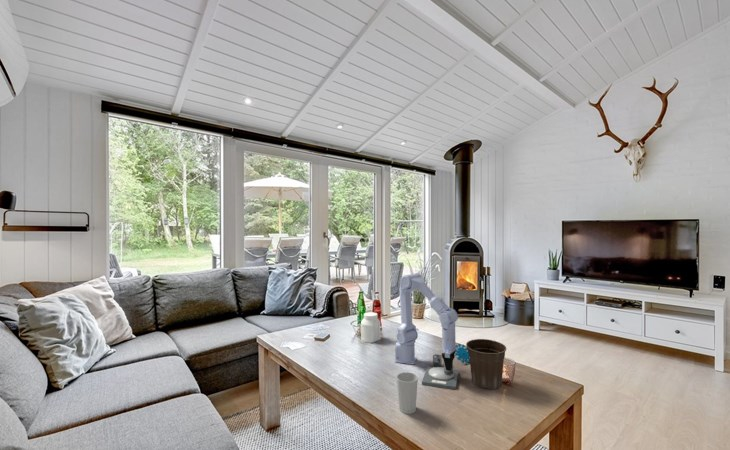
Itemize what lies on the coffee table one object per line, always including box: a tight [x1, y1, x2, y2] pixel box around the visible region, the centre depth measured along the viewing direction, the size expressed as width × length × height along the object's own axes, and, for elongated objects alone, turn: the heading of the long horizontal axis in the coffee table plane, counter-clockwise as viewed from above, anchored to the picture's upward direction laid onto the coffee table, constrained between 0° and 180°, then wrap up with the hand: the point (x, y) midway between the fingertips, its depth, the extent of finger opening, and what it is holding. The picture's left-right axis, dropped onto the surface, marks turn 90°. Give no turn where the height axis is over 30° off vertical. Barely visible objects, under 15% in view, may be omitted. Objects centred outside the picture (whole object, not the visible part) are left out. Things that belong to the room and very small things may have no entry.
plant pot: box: [465, 338, 507, 390], centre depth 143 cm, size 16×16×16 cm
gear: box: [454, 343, 470, 365], centre depth 167 cm, size 11×6×10 cm
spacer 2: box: [443, 361, 454, 375], centre depth 148 cm, size 4×4×5 cm
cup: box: [396, 371, 419, 415], centre depth 124 cm, size 8×8×12 cm
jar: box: [360, 311, 382, 344], centre depth 197 cm, size 12×10×15 cm
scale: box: [421, 365, 459, 390], centre depth 147 cm, size 14×16×2 cm
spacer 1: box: [432, 353, 443, 367], centre depth 160 cm, size 4×4×5 cm
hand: (449, 367), depth 148 cm, fingers open, 4 cm apart
